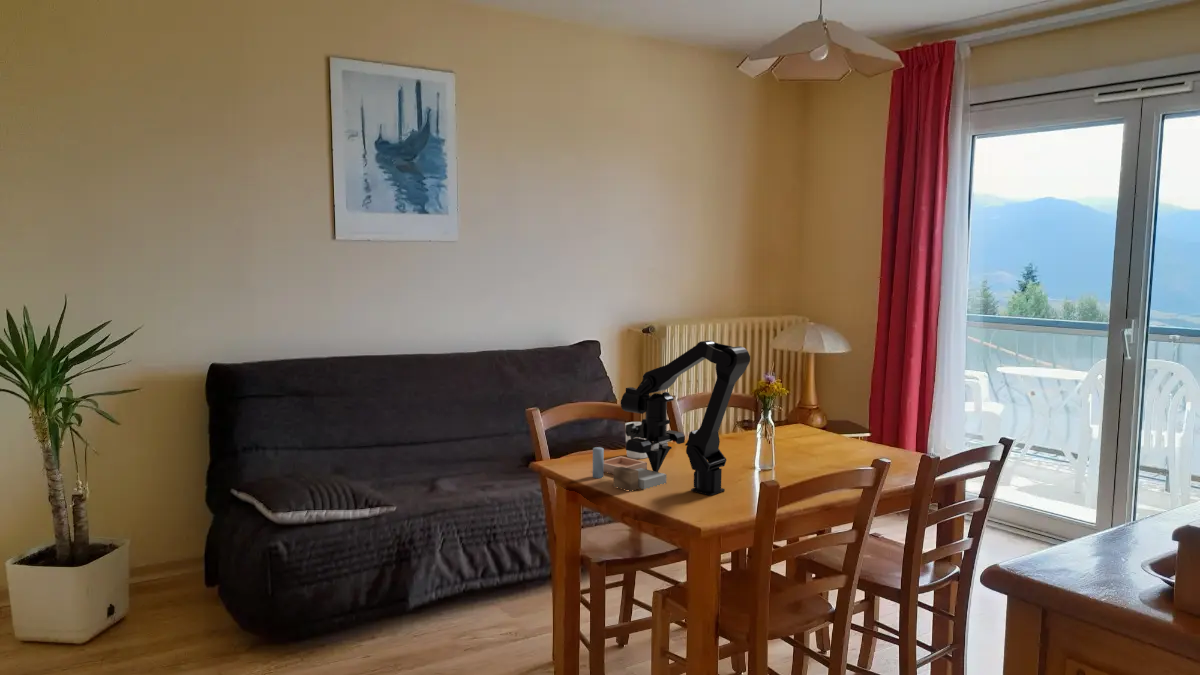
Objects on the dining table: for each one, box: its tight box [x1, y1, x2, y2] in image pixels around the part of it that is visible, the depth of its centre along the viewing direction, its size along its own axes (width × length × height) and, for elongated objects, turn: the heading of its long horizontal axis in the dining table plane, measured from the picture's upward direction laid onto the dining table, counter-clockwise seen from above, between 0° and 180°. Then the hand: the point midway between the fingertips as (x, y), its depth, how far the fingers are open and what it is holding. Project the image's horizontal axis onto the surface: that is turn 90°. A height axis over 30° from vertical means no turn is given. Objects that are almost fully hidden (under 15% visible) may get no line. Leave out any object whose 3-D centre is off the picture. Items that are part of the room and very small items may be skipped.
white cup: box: [624, 421, 648, 460], centre depth 250 cm, size 8×8×10 cm
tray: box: [603, 455, 648, 475], centre depth 233 cm, size 10×10×2 cm
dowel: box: [592, 446, 605, 479], centre depth 225 cm, size 3×3×8 cm
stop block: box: [613, 467, 639, 492], centre depth 215 cm, size 6×3×5 cm, turn 46°
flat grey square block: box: [636, 468, 667, 490], centre depth 220 cm, size 9×9×3 cm
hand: (655, 472), depth 223 cm, fingers closed
